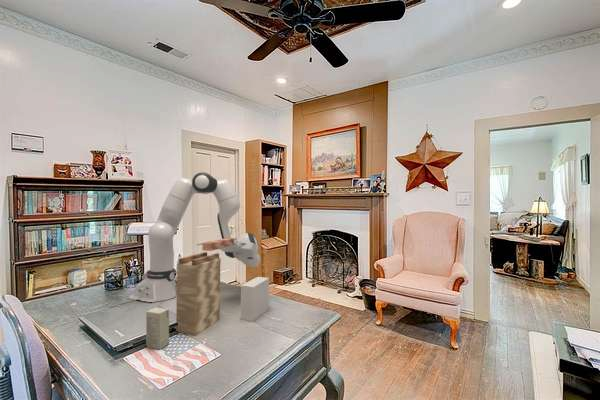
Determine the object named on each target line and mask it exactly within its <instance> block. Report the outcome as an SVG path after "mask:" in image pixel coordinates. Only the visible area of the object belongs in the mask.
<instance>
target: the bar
mask: <svg viewBox="0 0 600 400" xmlns="http://www.w3.org/2000/svg"><path fill="white" fill-rule="evenodd" d="M233 240H237V238H236V237H231V238H225V239H222V238H220V239H216V240H211V241H206V242H202V247H201V248H202V251H204V252H212V251H215V250H220V248H224V247H228V246H232V245H235V244H233V243H232V241H233Z"/></svg>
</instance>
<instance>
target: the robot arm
mask: <svg viewBox="0 0 600 400" xmlns="http://www.w3.org/2000/svg"><path fill="white" fill-rule="evenodd" d="M195 194H202V195H207V194H213V196H214V197H215V199H216V201H217V203H218V208H219V209H218V210H219V211H218V213H217V216H216V217H217V223H218V228H219V231H220V236H221V239H225V238H232V237H231V233H230V229H229V228H230V227H229V222H230V220H231V219H232V218H233V217H234V216H235V215H236V214H237V213H238V211H239V210H240V207H241V201H240V198H239V196H238V194H237V192H236V190H235V187H234V186H233V185H232V183H231V182H230V180H228V179H219V180H217V179H216V178H215V177H213V176H212V175H211V174H209V173H208V172H201V171H200V172H198V173H196V174H195V175H193V177H192V179H189V178H186V177H180V178H178V179H177V180H176V181H175V183H174V184H173V186H172V187H171V188H170V191H169V192H168V194H167V196H166V198H165V200H164V202H163V204H162V207H161V210H160V212H159V215H158V217H157V219H156V222H155V223H154V224H153V225H151V226H150V227H149V229H148V234H147V236H148V247H149V270H147V271H145V272H144V275H146V277H145V278H143V279H142V280H141V281H140V282H139V283H137V284H136V285H135V287H134V290H133V291H134V292H133V293H132V294H130V295H129V296H128V300H132V301H136V300H137V299H146V300H148V301H150V302H152V303H157V302H161V301H168V300H171V299H173V298H175V297H177V290H176V287H175V266H174V265H175V264H174V263H175V258H174V257H175V251H174V237H175V235H176V232H177V231H178V228H179V226H180V223H181V221H182V219H183V216H184V214H185V213H186V210H187V208H188V207H189V205H190V202H191V200H192V198H193V196H194V195H195ZM235 238H237V240H233V241H232V243H233V244H235V245H232V246H228V247H224V248H220V249H219V250H220V251H222V252H224V254H225V256H227V257H228V258H231V259H235V258H236V260H238V261H240V262H241V263H242V264H243V265H245V266H246V267H250V268H254V267H257V266H258V265H259V264H260V262H261V256H260V254H259V253H258V250H259V240H258V239H257V237H256V236H255V235H254V234H253V233H252V232H246V233H244V234H240V235H239V236H237V237H236V236H235Z"/></svg>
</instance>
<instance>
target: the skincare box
mask: <svg viewBox="0 0 600 400" xmlns="http://www.w3.org/2000/svg"><path fill="white" fill-rule="evenodd" d="M145 312H146V313H145V316H146V317H145V322H146V323H145V326H146V327H145V329H146V330H145V331H146V333H145V335H146V336H145V337H146V338H145V341H146V343H145V344H146V347H147V348H153V349H156V350H161V349H163V348H165V347H166V346H167V345H169V344H170V309H169V308H165V307H164V308H163V307H157V306H156V307H154V308H151V309H149V310H146V311H145Z"/></svg>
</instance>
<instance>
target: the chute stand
mask: <svg viewBox="0 0 600 400" xmlns="http://www.w3.org/2000/svg"><path fill="white" fill-rule="evenodd" d="M176 267H177V268H176V270H177V271H176V294H177V295H176V312H175V314H176V315H175V316H176V319H175V320H176V321H175V323H176V322H178V326H177V327H176V326H175V332H176V331H178V332H177V333H180V332H181V333H182V334H185V333H186V335H191V336H195V337H196V336H197V335H198V334H200V333H202V332H203V331H205V330H206V329H208V328H209V327H211V326H213V325H214V324H215V323H218V322H219V321H220V320H221V319H220V312H221V311H220V309H221V308H220V307H221V257H220V253H218V252H216V253H212V254H209V255H208V251H204V252H200V253H195V254H193V255H188V256H185V257H180V258H178V263H177V266H176Z"/></svg>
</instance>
